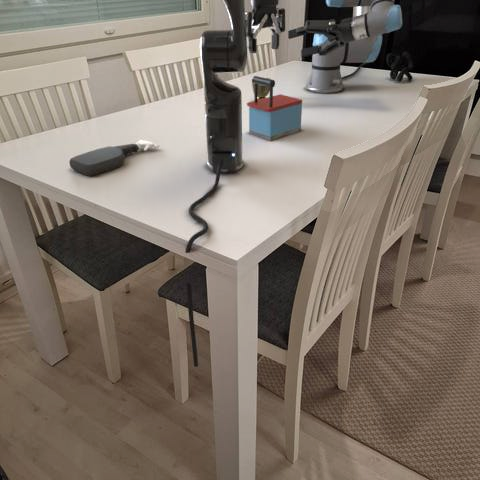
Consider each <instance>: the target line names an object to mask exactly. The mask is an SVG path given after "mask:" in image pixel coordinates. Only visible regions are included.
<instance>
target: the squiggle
mask: <svg viewBox="0 0 480 480" xmlns="http://www.w3.org/2000/svg"><path fill="white" fill-rule="evenodd" d="M401 57H402V59H401ZM391 59H392V60H391ZM393 60H394V61H393ZM385 61H386V64H387V67H390V68H391V70H390V72H389V78H390V79H391V80H395V79H396V81H397V82H399V83H400V82H402V81H403V79H404V76H406V78H407V80H408V81H412V80H413V79H414V77H413V75H412V74H411V73H410V72H409V71H410V70H412V69H413V68H414V64H413V61H412V57H411V54H410V53H409V52H408V51H403V53H402V54H401V55H396V54H394V53H392V52H390V53H387V55H386V57H385ZM406 62H407V65H408V66H407V67H405V66H404V65H405V64H406ZM400 70H401V71H400Z"/></svg>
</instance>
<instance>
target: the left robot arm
mask: <svg viewBox="0 0 480 480" xmlns="http://www.w3.org/2000/svg"><path fill="white" fill-rule="evenodd" d="M221 1H222V3H223V5H224V7H225V10H226V12H227V14H228V17H229V22H230V25H231V29H209V30H204V31H203V32H202V33H201V35H200V39H199V55H200V56H199V57H200V63H201V65H200V66H201V73H202V83H203V84H202V85H203V98H204V100H203V101H204V116H205V117H204V118H205V133H206V134H205V135H206V151H207V152H206V153H207V168H208V169H209V170H211V172H212V173H216V175H215V180H214V184H213V185H212V188H211V189H209V191H207V192H206V193H205V194H204V195H203V196H202V197H200V198H199V199H197V200H196V201H194V202H193V203H192V204H190V206H189V208H188V214H189V215H190V217H191V218H193V219H194V220H195V221H197V222H199V223H201V224H202V227H203V228H202V229H201V230H199V231H198V232H195V233H194V234H193V235H192V236H191V237H190V238H189V239H188V241H187V243H186V247H185V252H184V253H186V254H189V253H190V252H191V249H192V246H193V243H194V242H195V241H196V240H197V239H199V238H200V237H202V236H204V235H205V234H206V233H207V232H208V230H209V224H208V222H207V221H206V220H205V219H203V218H202V217H201V216H200V215H198V214H196V213H195V212H194V209H195V208H196V207H197V206H199V205H200V204H202V203H203V202H204V201H206V200H207V199H209V197H210V196H211V195H212V194H214V193H215V191H216V190H217V189H218V187H219V183H220V179H221V173H237V171H239V170H240V169H242V168H243V166H244V159H243V114H242V113H243V109H242V108H243V106H242V105H243V104H242V103H243V102H242V101H243V100H242V99H243V98H242V96H243V95H242V90H241V89H240V87H239V86H237V85H234V84H232V83H228V82H226V81H225V80H223V79H222V78H221V77H219V75H218V74H219V73H220V74H225V73H226V74H230V73H231V74H237V73H243V72H244V71H245V70H246V68H247V63H248V51H249V53H250V54H257V49H258V47H257V45H258V43H257V42H258V39H257V37H258V34H259V33H260V32H261V31H262V29H266V28H268V29H269V30H270V32H271V42H270V43H271V45H270V46H271V49H272V50H278V49H279V47H280V35H281V34H282V33H284V32H286V9H285V8H282V7H281V8H280V7H277V6H278V5H279V1H280V0H250V5H251V7H252V10H251V11H246V8H245V0H221ZM247 40H248V41H247ZM186 296H187V308H188V309H187V310H188V320H189V321H188V322H189V330H190V339H191V348H192V359H193V366H194V367H195V368H197V367H198V366H199V359H198V358H199V357H198V348H197V338H196V329H195V328H196V327H195V318H194V307H193V306H194V305H193V290H192V283H191V282H188V281H186Z"/></svg>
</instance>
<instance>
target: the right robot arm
mask: <svg viewBox="0 0 480 480" xmlns="http://www.w3.org/2000/svg"><path fill="white" fill-rule="evenodd" d="M325 3H326V6H327V7H330V8H352V9H353V11H352V17H348V18H344V19H342V20H341V21H340V23H339V24H336V19H335V18H333V19H327V20H325V19H321V20H319V19H318V20H316V19H315V20H309V19H308V20H306V21H305V24H304V25H303V26H299V27H296V28H293V29H291V30H287V33H288V34H287V38H288V40H292V39H294V38H298V37H301V36H306V35H308V34H314V35H313V41H312V46H309V47H306V48H305V47H304V48H302V49H301V50H300V57H301V58H304V57H310V56H311V57H312V59H311V69H310V73H309V75H308V78H307V80H306V84H305V85H306V86H305V89H306V90H307V91H309V92H311V93H318V94H334V93H335V94H336V93H339V92H342V91H343V89H344V82H343V80H345V79H347V78H351V77H352V76H354V75H355V74H357V73H358V72H359V70H361V68H362V67H364V66H370V63H374V62H375V61H376V60H377V59H378V56H379V54H380V52H381V47H382V45H383V44H382V43H383V34H390V33H391V32H395V31H397V30H400V29H401V28H402V27H403V13H402V8H401V5H400V4H395V0H325ZM347 63H348V64H351V63H352V64H354V63H355V64H359V63H360V65H359V66H358V67H357V68H356V69H355V71H353V72H352V73H350V74H348V75H344V76H342V74H341V64H347Z"/></svg>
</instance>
